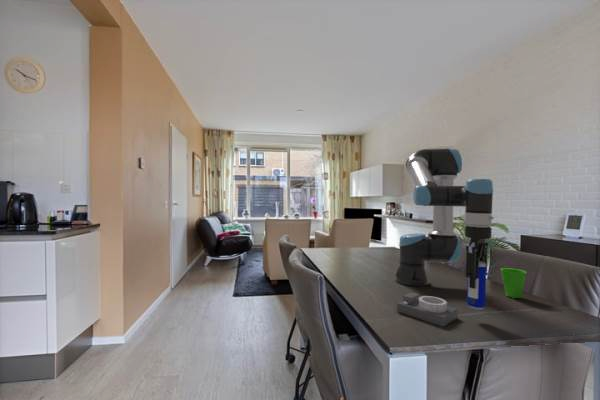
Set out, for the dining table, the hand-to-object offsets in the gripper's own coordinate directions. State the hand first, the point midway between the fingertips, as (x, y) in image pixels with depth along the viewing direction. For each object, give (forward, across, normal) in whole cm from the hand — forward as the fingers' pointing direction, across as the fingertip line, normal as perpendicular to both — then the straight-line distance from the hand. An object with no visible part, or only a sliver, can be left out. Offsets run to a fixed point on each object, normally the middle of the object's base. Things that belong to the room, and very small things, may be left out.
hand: (476, 295), depth 97 cm
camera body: (+8, -9, +12) cm, 17 cm away
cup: (+9, +39, -2) cm, 40 cm away
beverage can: (+4, 0, 0) cm, 4 cm away
